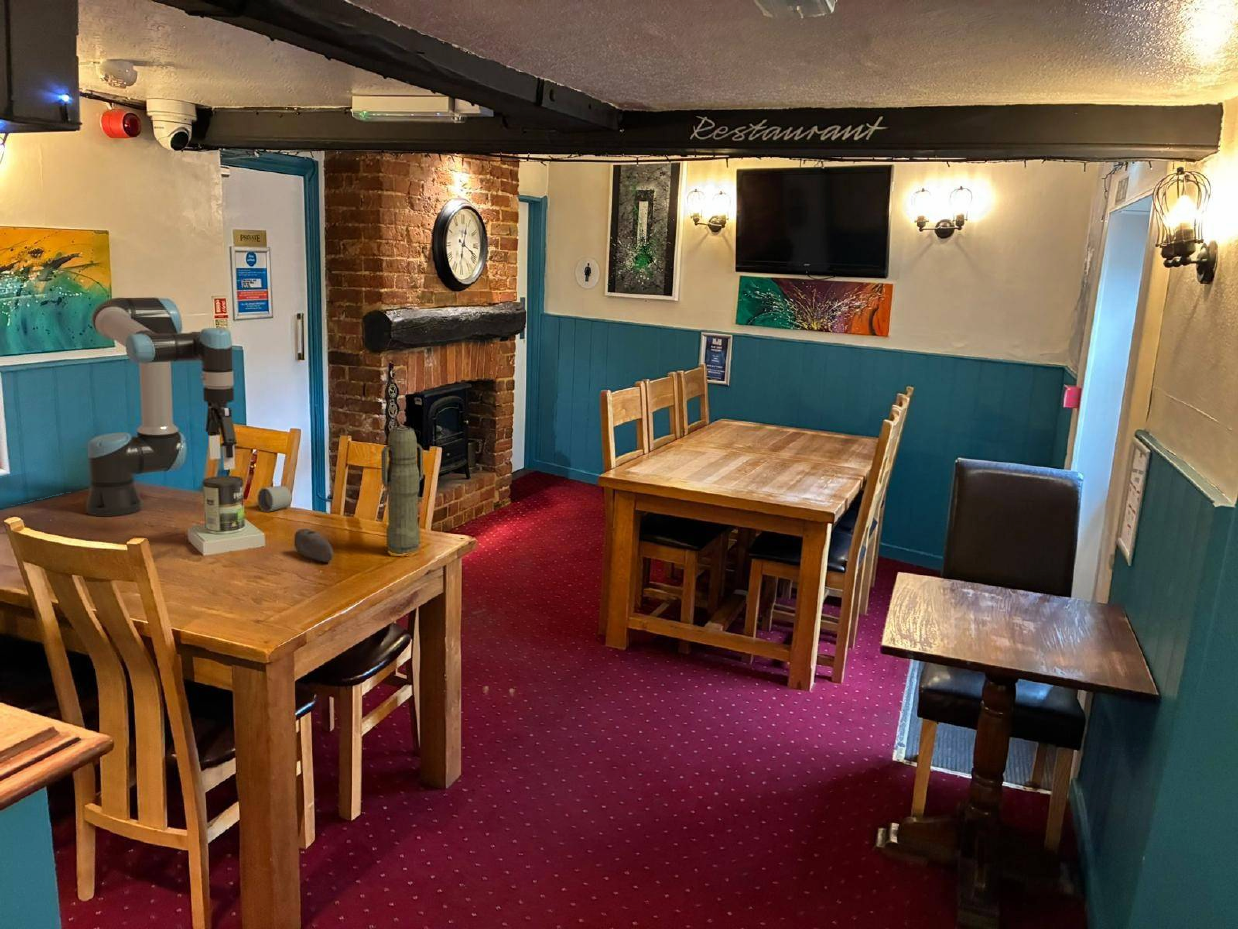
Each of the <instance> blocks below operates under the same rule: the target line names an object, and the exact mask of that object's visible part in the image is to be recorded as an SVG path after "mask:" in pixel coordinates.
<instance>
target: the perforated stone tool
mask: <svg viewBox="0 0 1238 929" xmlns="http://www.w3.org/2000/svg"><path fill="white" fill-rule="evenodd" d="M293 543H294V545H293V546H294V548H295V550H296V551H297V552H298V553H300V554H301V555H303V556H304V557H306V558H309V559H311V560H314V561H317V560H318V561H317V562H321V561H322V563H329V562H331V561H332V559H334V558H333V557H334V549H333V547H332V545H331V543H330V542H329V541H328V540H327V539H326V538H325V537H324V536H322V535H321V533H318V532H317V531H313V530H311V529H309V528H300V529H298V530H297V531H296V532H295V534H294V541H293Z"/></svg>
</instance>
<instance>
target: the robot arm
mask: <svg viewBox="0 0 1238 929" xmlns="http://www.w3.org/2000/svg"><path fill="white" fill-rule="evenodd" d="M182 320H183V319H182V317H181V313H180V311H179V308H178V307H177V304H176V303H175V301H174V300H172V299H170V298H164V297H156V296H155V297H115V298H110V299H107V300H104V301H103V302H101V303H99V305H97V306H96V307H95V309H94V310H93V311H92V315H91V324H92V327H93V329H95V330H94V331H96V332H97V333H98V334H99V335H100V336H101V337H103V338H105V339H108V340H112V341H113V340H114V341H116V342H117V343H119V344H120V345H122V346H123V347H125V351H126V355H127V357H128V359H129V361H130V362H132V363H134V364H138V363H139V364H138V366H139V382H140V384H139V385H140V406H141V407H140V408H141V425H140V426H139V427H137V429H136V435H135V436H132V435H131V433H128V432H122V431H121V432H112V433H105V434H101V435H98V436H95V437H93V438H92V439H90V440H89V441H88V444H87V457H88V467H89V480H90V490H89V493H88V496H87V500H86V504H85V511H86V514H87V513H88V514H87V515H90V516H93V517H116V516H117V517H118V516H125V515H130V513H131V514H134V513H137V512H140V511H141V510H142V509H143V500H142V498H141V496H140V494H139V491H138V490H137V487H136V485H135V475H142V474H149V473H158V472H169V471H174V470H178V469H179V468H181V467H182V466H183V464H184V462H185V460H186V457H187V443H186V440H187V439H186V437H185V436H184V434H183V433H182V432H179V431H180V430H179V427H178V426H176V425H175V424H174V420H173V419H174V418H173V394H172V393H173V392H172V389H173V388H172V365H171V362H174V363H175V362H197V361H198V362H201V371H202V374H200V379H202V385H203V386H204V387H203V388H202V391H203V392H202V393H203V401H204V402H205V403H207V411H206V420H205V421H206V423H205V432H206V433H207V435H208V438H207V439H208V450H209V451H208V455H209V460H218V459H219V460H220V459H221V447H222V462H223V463H222V464H223V470H225V471H226V470H227V471H228V470H235V469H236V465H235V464H236V462H235V461H236V460H235V458H236V457H235V445H237V443H238V442H237V437H236V430H235V426H234V420H233V413H232V411H233V409H232V407H228V403H231V402H234V400H235V390H234V387H233V386H234V370H233V341H232V334H231V331H230V330H229V329H227V328H221V327H206V328H203V329H201V330H200V331H190V332H182V331H183V321H182ZM220 435H221V439H222V442H221V441H220ZM139 510H140V511H139Z"/></svg>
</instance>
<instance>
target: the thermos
mask: <svg viewBox="0 0 1238 929" xmlns="http://www.w3.org/2000/svg"><path fill="white" fill-rule="evenodd" d="M423 478H424V448H423V447H422V446H421V444H419V443H418V442H417V436H416V433H415V430H414V428H412V427H410V426H395V427H393V428H391V429H390V431H389V434H388V438H387V444H386V446H383V448H382V450H381V482H382V483H381V484H382V485H384V486H386V487H385V488H386V489H385V490H386V494H387V499H388V500H387V504H388V506H387V507H388V511H387V513H388V515H387V517H388V524H387V528H386V546H387V550H388V551H390V552H392V553H396V554H403V553H409V552H413V551H416V550H418V548H419V549H420V545H421V540H420V538H421V537H420V536H421V533H420V532H421V530H420V526H419V523H418V522H419V520H418V519H419V518H418V515H419V514H418V512H419V510H418V507H419V506H418V504H419V503H418V495H419V492H420V481H422V479H423Z"/></svg>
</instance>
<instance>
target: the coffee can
mask: <svg viewBox="0 0 1238 929" xmlns="http://www.w3.org/2000/svg"><path fill="white" fill-rule="evenodd" d="M201 483H202V487H203V488H202V490H203V504H204V505H203V508H204V509H203V510H204V525H205V528H206V529H205V531H206V532H208V533H212V534H230V533H236V532H239V531H242V530H244V529H245V520H244V519H245V504H244V503H245V501H244V498H245V495H244V478H242V477H240V476H236V475H217V476H210V477H207V478H204V479H203V480H202V481H201Z"/></svg>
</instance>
